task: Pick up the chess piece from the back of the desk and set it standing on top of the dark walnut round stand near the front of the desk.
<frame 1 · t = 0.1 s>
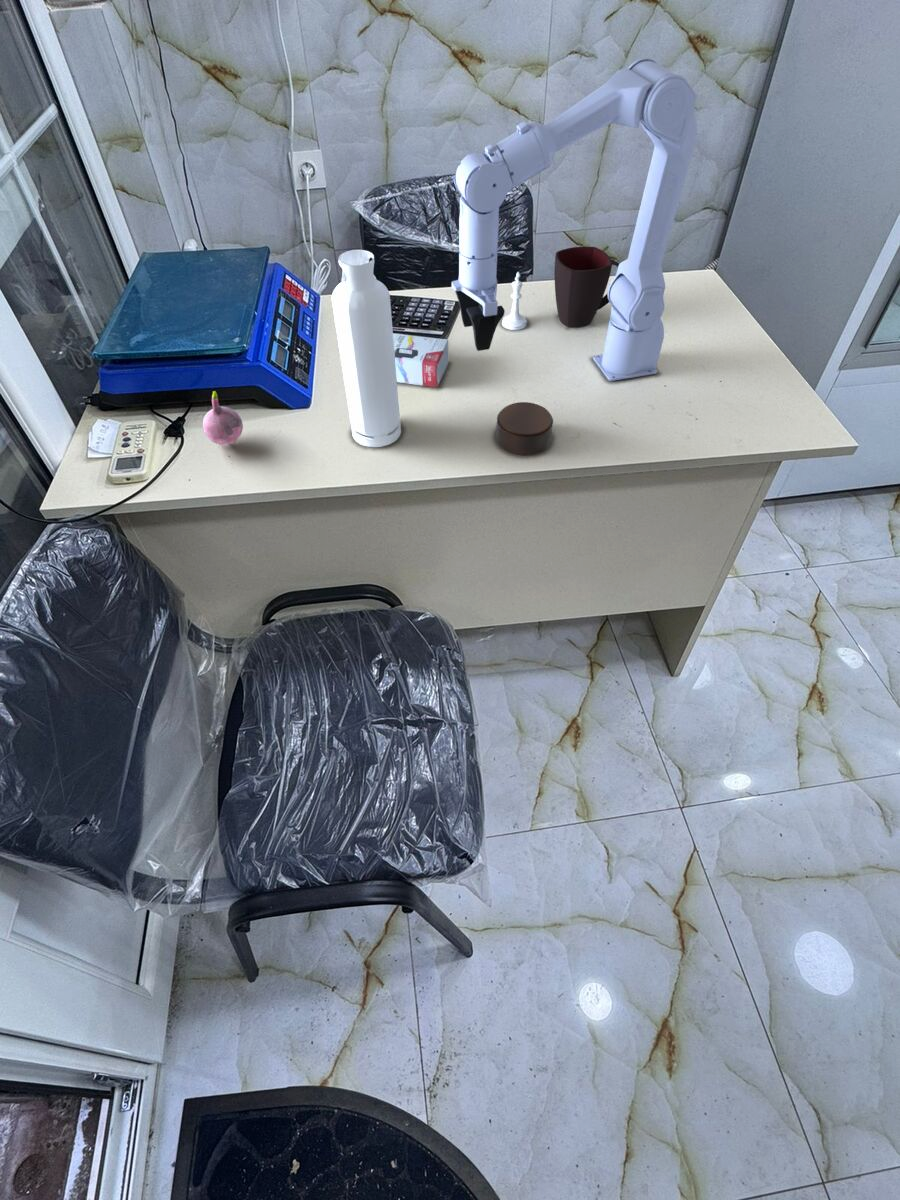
hand: (476, 336, 106), 10 cm above the table, tool pointing down, fingers open, 7 cm apart
chess piece: (514, 324, 128), on the table
bottle: (376, 432, 107), on the table
vegetable: (229, 446, 105), on the table
cup: (583, 319, 129), on the table
stand: (523, 438, 106), on the table
ink box: (444, 363, 115), point 2 cm above the table
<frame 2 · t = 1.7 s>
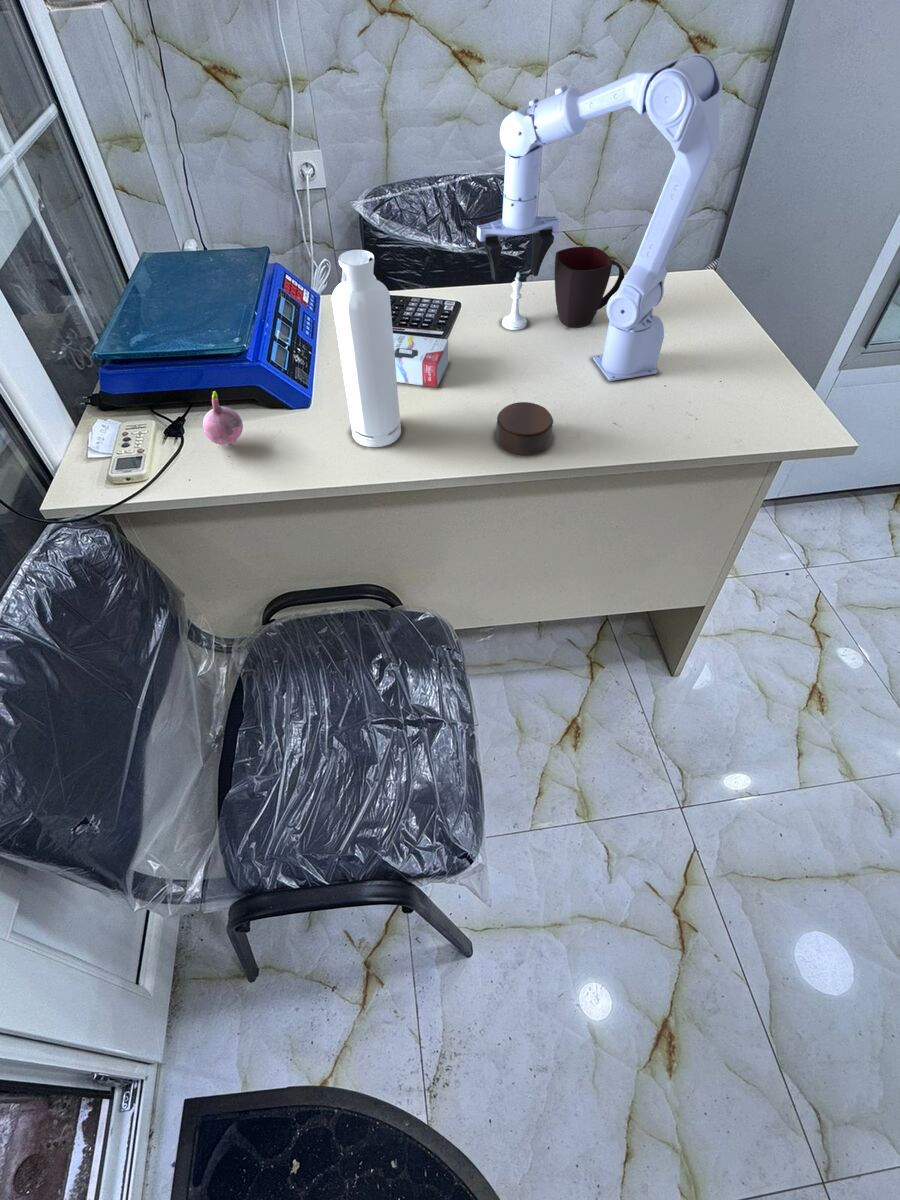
hand: (514, 276, 119), 10 cm above the table, tool pointing down, fingers open, 7 cm apart
nothing on the table moved.
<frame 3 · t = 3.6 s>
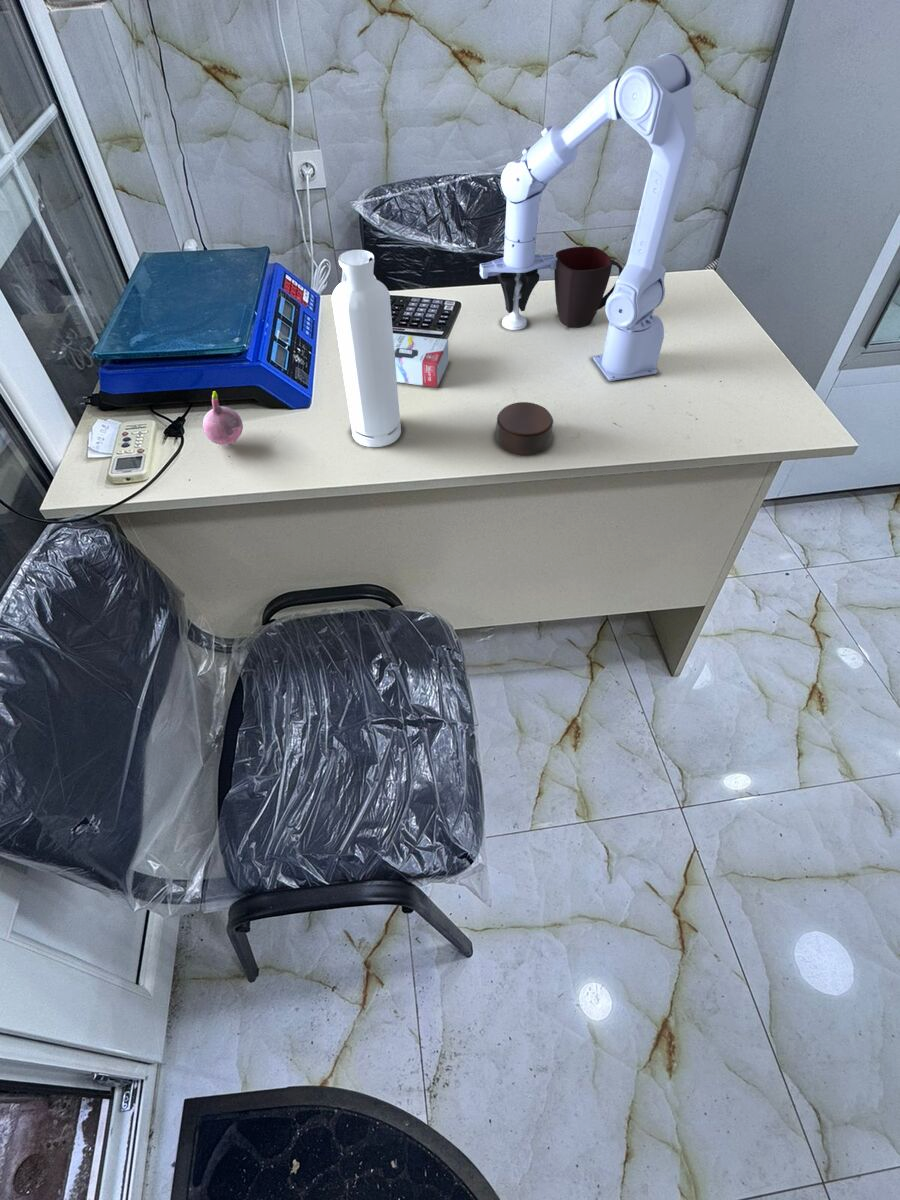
hand: (515, 309, 126), 3 cm above the table, tool pointing down, fingers closed on chess piece
chess piece: (514, 324, 128), on the table, touching gripper
everything else where it was.
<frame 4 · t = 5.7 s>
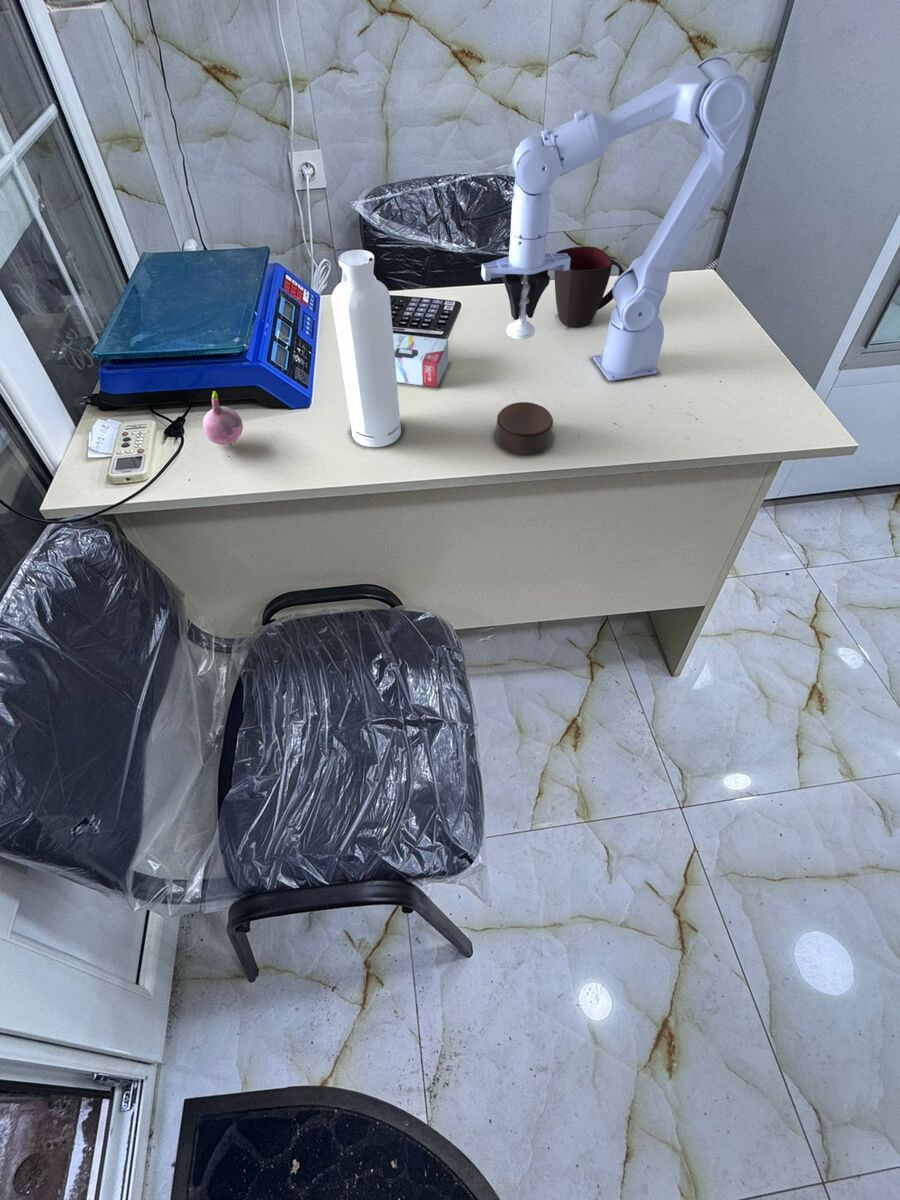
hand: (522, 316, 111), 10 cm above the table, tool pointing down, fingers closed on chess piece
chess piece: (520, 332, 113), point 7 cm above the table, touching gripper
everything else where it was.
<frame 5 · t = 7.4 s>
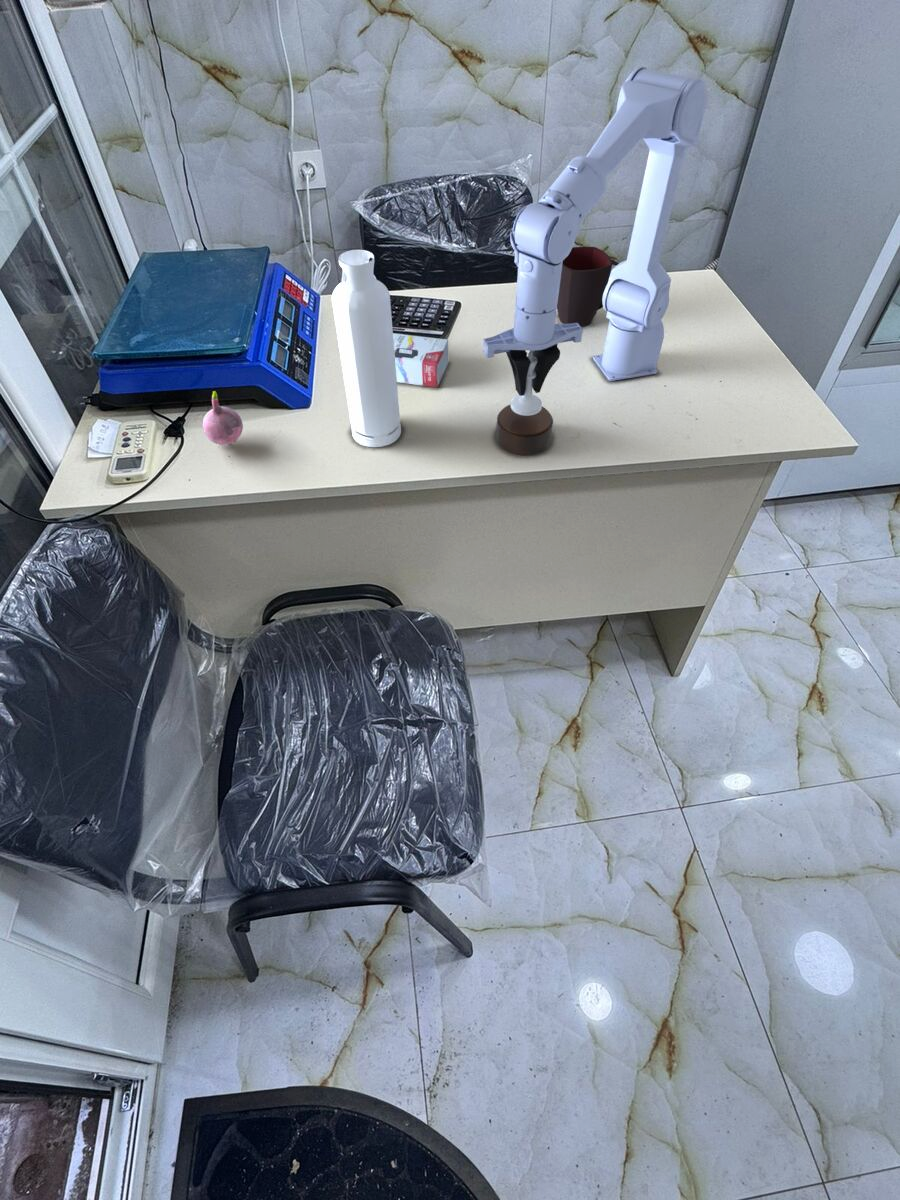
hand: (527, 390, 99), 9 cm above the table, tool pointing down, fingers closed on chess piece
chess piece: (525, 407, 101), point 6 cm above the table, touching gripper
everything else where it was.
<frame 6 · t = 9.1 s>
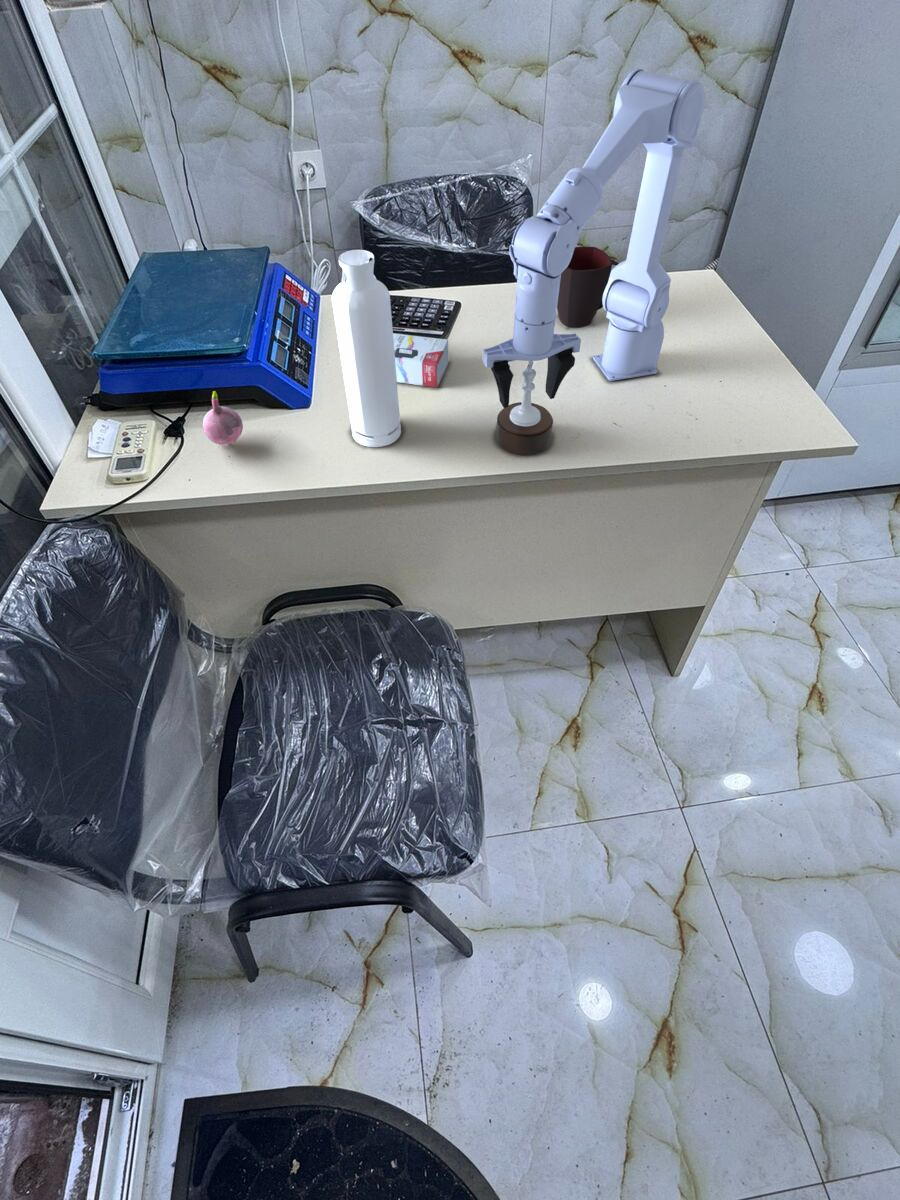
hand: (527, 399, 100), 7 cm above the table, tool pointing down, fingers open, 7 cm apart
chess piece: (524, 418, 103), point 4 cm above the table, touching stand
everything else where it was.
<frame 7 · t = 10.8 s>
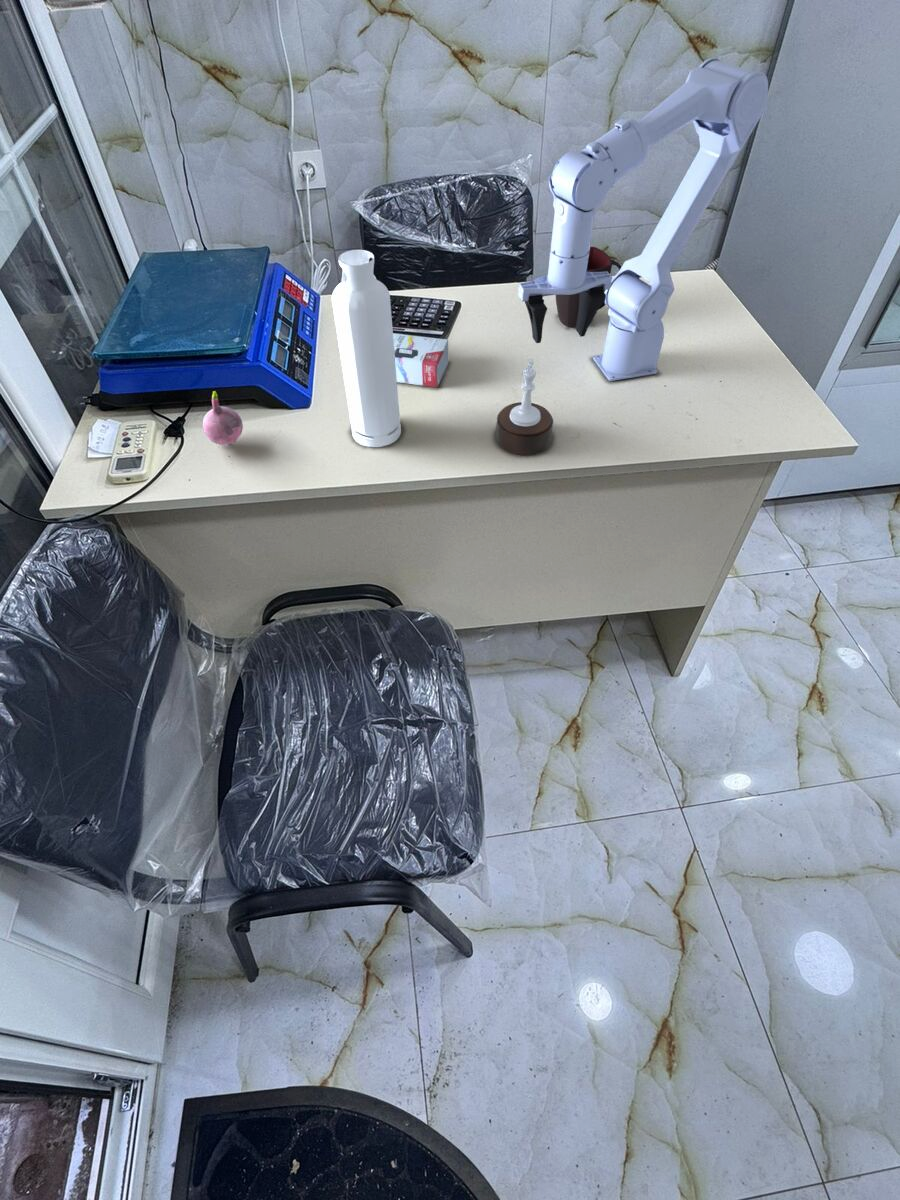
hand: (558, 336, 106), 10 cm above the table, tool pointing down, fingers open, 7 cm apart
nothing on the table moved.
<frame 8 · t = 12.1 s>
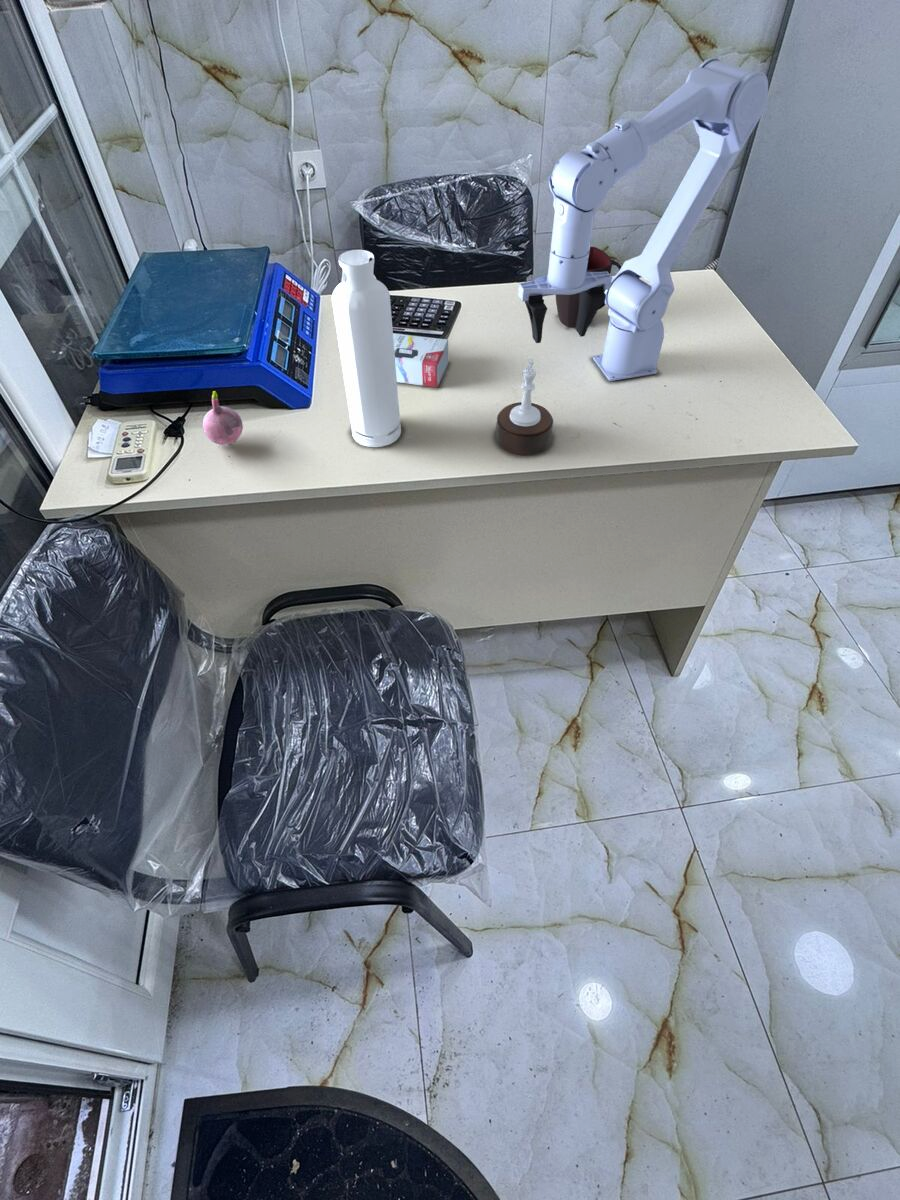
hand: (558, 336, 106), 10 cm above the table, tool pointing down, fingers open, 7 cm apart
nothing on the table moved.
at the end: chess piece 0.0 cm off-centre on the stand, point 3.8 cm above the stand's base; chess piece tilted 0°; the gripper is holding nothing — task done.
